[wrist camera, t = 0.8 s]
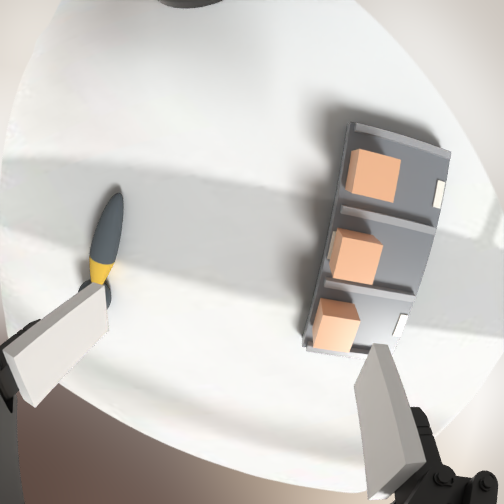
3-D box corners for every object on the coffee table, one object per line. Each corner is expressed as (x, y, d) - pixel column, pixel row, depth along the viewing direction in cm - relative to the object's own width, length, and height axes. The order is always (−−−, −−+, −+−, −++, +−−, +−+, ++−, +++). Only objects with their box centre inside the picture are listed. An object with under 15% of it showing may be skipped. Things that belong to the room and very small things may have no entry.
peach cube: (337, 227, 30) (342, 236, 26) (373, 235, 29) (383, 245, 25) (329, 264, 31) (332, 277, 27) (364, 270, 30) (372, 284, 27)
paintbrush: (102, 185, 35) (78, 189, 30) (132, 194, 35) (110, 199, 30) (90, 309, 41) (71, 323, 36) (115, 322, 41) (98, 338, 36)
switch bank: (347, 124, 28) (352, 120, 26) (443, 152, 27) (454, 152, 24) (302, 337, 36) (302, 351, 34) (387, 349, 35) (392, 362, 32)
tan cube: (320, 297, 32) (322, 314, 28) (354, 303, 32) (360, 320, 28) (312, 328, 33) (313, 347, 29) (344, 333, 33) (349, 352, 29)
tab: (351, 150, 27) (359, 148, 23) (388, 160, 27) (401, 159, 23) (344, 189, 28) (351, 193, 25) (381, 197, 28) (393, 202, 24)
